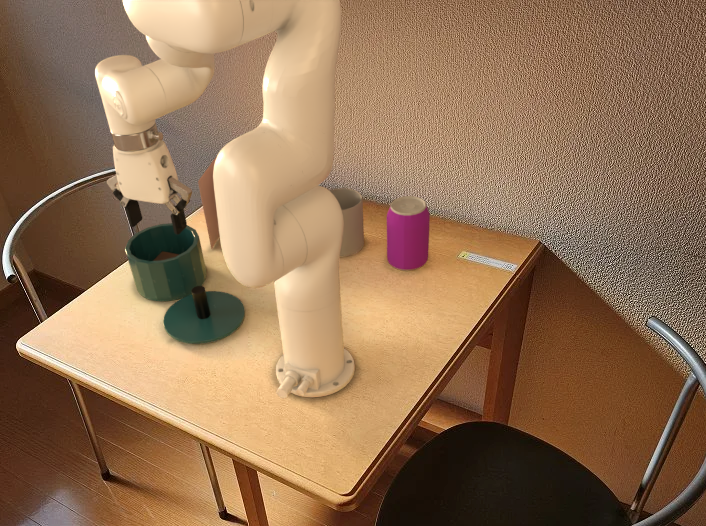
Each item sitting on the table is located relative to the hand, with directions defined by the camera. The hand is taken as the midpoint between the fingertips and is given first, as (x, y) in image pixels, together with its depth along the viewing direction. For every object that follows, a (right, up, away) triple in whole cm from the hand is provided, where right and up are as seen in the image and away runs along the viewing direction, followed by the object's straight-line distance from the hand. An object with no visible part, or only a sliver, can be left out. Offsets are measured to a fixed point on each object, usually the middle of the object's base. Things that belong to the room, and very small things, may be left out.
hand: (158, 226), depth 133 cm
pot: (+1, -9, +8) cm, 12 cm away
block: (+1, -8, +8) cm, 11 cm away
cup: (+34, -1, +11) cm, 36 cm away
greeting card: (+12, +2, +18) cm, 22 cm away
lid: (+9, -17, -3) cm, 19 cm away
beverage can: (+46, -6, +5) cm, 47 cm away
